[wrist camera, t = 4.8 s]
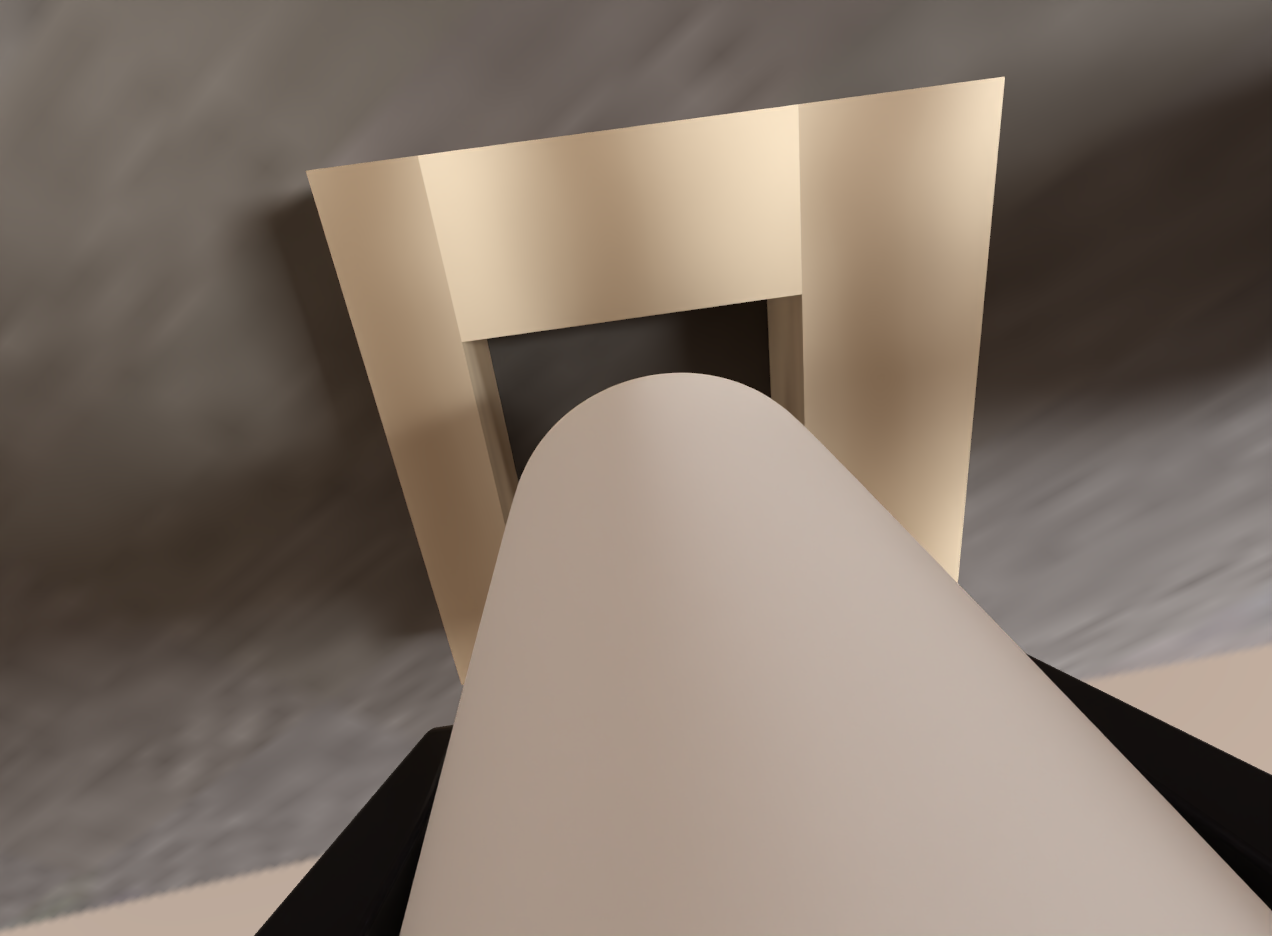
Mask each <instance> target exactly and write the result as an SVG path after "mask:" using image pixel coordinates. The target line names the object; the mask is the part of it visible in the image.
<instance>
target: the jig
mask: <svg viewBox="0 0 1272 936" xmlns="http://www.w3.org/2000/svg"><path fill="white" fill-rule="evenodd" d="M1004 81H1005V77H999V78H991V79H984V80H976V81H969V82H961V83H954V84H947V85H939V86H932V87H924V88H917V89H909V90H902V91H895V92H887V93H880V94H872V95H865V96H857V97H850V98H843V99H835V100H828V101H820V102H813V103H805V104H798V105H791V106H783V107H776V108H768V109H761V110H754V111H746V112H739V113H731V114H724V115H716V116H709V117H702V118H694V119H687V120H679V121H672V122H664V123H657V124H650V125H642V126H635V127H627V128H620V129H612V130H605V131H598V132H590V133H583V134H575V135H568V136H560V137H553V138H546V139H538V140H531V141H523V142H516V143H508V144H501V145H494V146H486V147H479V148H471V149H464V150H456V151H449V152H442V153H434V154H427V155H419V156H412V157H404V158H397V159H390V160H382V161H375V162H367V163H360V164H353V165H345V166H338V167H330V168H323V169H315V170H308V171H306V173H307V177H308V180H309V183H310V187H311V190H312V193H313V197H314V200H315V203H316V206H317V210H318V213H319V216H320V220H321V223H322V226H323V230H324V233H325V236H326V239H327V243H328V246H329V249H330V253H331V256H332V259H333V262H334V266H335V269H336V272H337V276H338V279H339V282H340V286H341V289H342V292H343V295H344V299H345V302H346V305H347V309H348V312H349V315H350V319H351V322H352V325H353V328H354V332H355V335H356V338H357V342H358V345H359V348H360V352H361V355H362V358H363V361H364V365H365V368H366V371H367V375H368V378H369V381H370V385H371V388H372V391H373V394H374V398H375V401H376V404H377V408H378V411H379V414H380V418H381V421H382V424H383V427H384V431H385V434H386V437H387V441H388V444H389V447H390V450H391V454H392V457H393V460H394V464H395V467H396V470H397V474H398V477H399V480H400V483H401V487H402V490H403V493H404V497H405V500H406V503H407V507H408V510H409V513H410V516H411V520H412V523H413V526H414V530H415V533H416V536H417V540H418V543H419V546H420V549H421V553H422V556H423V559H424V563H425V566H426V569H427V573H428V576H429V579H430V582H431V586H432V589H433V592H434V596H435V599H436V602H437V605H438V609H439V612H440V615H441V619H442V622H443V625H444V629H445V632H446V635H447V638H448V642H449V645H450V648H451V652H452V655H453V658H454V662H455V665H456V668H457V671H458V675H459V678H460V681H461V685H463V684H464V683H465V679H466V675H467V671H468V667H469V664H470V660H471V656H472V652H473V648H474V644H475V641H476V637H477V633H478V629H479V625H480V622H481V618H482V614H483V610H484V606H485V602H486V599H487V595H488V591H489V587H490V583H491V580H492V576H493V572H494V568H495V564H496V561H497V557H498V553H499V549H500V546H501V542H502V538H503V534H504V531H505V527H506V523H507V520H508V516H509V513H510V509H511V505H512V502H513V499H514V495H515V492H516V489H517V486H518V478H517V474H516V469H515V465H514V460H513V455H512V451H511V446H510V442H509V437H508V433H507V428H506V424H505V419H504V415H503V410H502V406H501V401H500V397H499V392H498V387H497V383H496V378H495V374H494V369H493V365H492V360H491V356H490V351H489V347H488V342H487V339H488V338H495V337H502V336H509V335H516V334H523V333H530V332H537V331H545V330H552V329H559V328H566V327H573V326H580V325H587V324H594V323H601V322H609V321H616V320H623V319H630V318H637V317H644V316H651V315H658V314H665V313H672V312H680V311H687V310H694V309H701V308H708V307H715V306H722V305H729V304H736V303H744V302H751V301H758V300H765V299H767V311H768V335H769V359H770V384H771V399H772V400H774V401H775V402H777V403H778V404H779V405H781V406H782V407H783V408H785V409H786V410H787V411H788V412H790V413H791V414H792V415H793V416H794V417H795V418H796V419H797V420H798V421H799V422H800V423H801V424H803V425H804V426H805V427H806V428H807V429H808V430H809V431H810V432H811V433H812V434H813V435H814V436H815V437H816V438H817V439H818V440H819V441H820V442H821V443H822V444H823V445H824V446H825V447H826V448H827V449H828V450H829V451H830V452H831V453H832V454H833V455H834V456H835V457H836V459H837V460H838V461H839V462H840V463H841V464H842V465H843V466H844V467H845V468H846V469H847V470H848V471H849V472H850V473H851V474H852V475H853V476H854V477H855V478H856V479H857V480H858V481H859V482H860V483H861V484H862V485H863V486H864V487H865V488H866V489H867V490H868V491H869V492H870V493H871V494H872V495H873V496H874V497H875V498H876V499H877V500H878V502H879V503H880V504H881V505H882V506H883V507H884V508H885V509H886V510H887V511H888V512H889V513H890V514H891V515H892V516H893V517H894V518H895V519H896V520H897V521H898V522H899V523H900V524H901V525H902V526H903V527H904V528H905V529H906V530H907V531H908V532H909V533H910V534H911V535H912V537H913V538H914V539H915V540H916V541H917V542H918V543H919V544H920V545H921V546H922V547H923V548H924V549H925V550H926V551H927V552H928V553H929V554H930V555H931V556H932V557H933V558H934V559H935V560H936V561H937V562H938V563H939V564H940V565H941V566H942V568H943V569H944V570H945V571H946V572H947V573H948V574H949V575H950V576H951V577H952V578H953V579H954V580H955V581H956V582H957V583H958V574H959V564H960V553H961V542H962V532H963V521H964V510H965V499H966V489H967V478H968V467H969V456H970V446H971V435H972V424H973V413H974V403H975V392H976V381H977V371H978V360H979V349H980V338H981V328H982V317H983V306H984V295H985V285H986V274H987V263H988V253H989V242H990V231H991V220H992V210H993V199H994V188H995V177H996V167H997V156H998V145H999V134H1000V124H1001V113H1002V102H1003V92H1004Z"/></svg>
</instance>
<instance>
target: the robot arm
mask: <svg viewBox="0 0 1272 936" xmlns="http://www.w3.org/2000/svg"><path fill="white" fill-rule="evenodd" d="M1026 655H1027V656H1028V657H1029V658H1030V659H1031V660H1032V661H1033V662H1034V663H1035V664H1036V665H1037V666H1038V667H1039V668H1040V669H1041V670H1042V671H1043V672H1044V673H1045V674H1046V675H1047V676H1048V677H1049V678H1050V679H1051V681H1052V682H1053V683H1054V684H1055V685H1056V686H1057V687H1058V688H1059V689H1060V690H1061V691H1062V692H1063V693H1064V694H1065V695H1066V696H1067V697H1068V698H1069V699H1070V700H1071V701H1072V702H1073V703H1074V704H1075V706H1076V707H1077V708H1078V709H1079V710H1080V711H1081V712H1082V713H1083V714H1084V715H1085V716H1086V717H1087V718H1088V719H1089V720H1090V721H1091V722H1092V723H1093V724H1094V725H1095V726H1096V727H1097V728H1098V729H1099V730H1100V732H1101V733H1102V734H1103V735H1104V736H1105V737H1106V738H1107V739H1108V740H1109V741H1110V742H1111V743H1112V744H1113V745H1114V746H1115V747H1116V748H1117V749H1118V750H1119V751H1120V752H1121V753H1122V754H1123V755H1124V757H1125V758H1126V759H1127V760H1128V761H1129V762H1130V763H1131V764H1132V765H1133V766H1134V767H1135V768H1136V769H1137V770H1138V771H1139V772H1140V773H1141V774H1142V775H1143V776H1144V777H1145V778H1146V779H1147V780H1148V782H1149V783H1150V784H1151V785H1152V786H1153V787H1154V788H1155V789H1156V790H1157V791H1158V792H1159V793H1160V794H1161V795H1162V796H1163V797H1164V798H1165V799H1166V800H1167V801H1168V802H1169V803H1170V804H1171V805H1172V806H1173V808H1174V809H1175V810H1176V811H1177V812H1178V813H1179V814H1180V815H1181V816H1182V817H1183V818H1184V819H1185V820H1186V821H1187V822H1188V823H1189V824H1190V825H1191V826H1192V828H1193V829H1194V830H1195V831H1196V832H1197V833H1198V834H1199V835H1200V836H1201V837H1202V838H1203V839H1204V840H1205V841H1206V842H1207V843H1208V844H1209V845H1210V846H1211V847H1212V849H1213V850H1214V851H1215V852H1216V853H1217V854H1218V855H1219V856H1220V857H1221V858H1222V859H1223V860H1224V861H1225V862H1226V863H1227V864H1228V865H1229V866H1230V867H1231V868H1232V870H1233V871H1234V872H1235V873H1236V874H1237V875H1238V876H1239V877H1240V878H1241V879H1242V880H1243V881H1244V882H1245V883H1246V884H1247V885H1248V886H1249V887H1250V888H1251V890H1252V891H1253V892H1254V893H1255V894H1256V895H1257V896H1258V897H1259V898H1260V899H1261V900H1262V901H1263V902H1264V903H1265V904H1266V905H1267V906H1268V907H1269V908H1270V909H1271V911H1272V775H1271V774H1269V773H1267V772H1265V771H1262V770H1260V769H1258V768H1256V767H1254V766H1252V765H1250V764H1248V763H1246V762H1244V761H1242V760H1240V759H1238V758H1236V757H1234V756H1232V755H1230V754H1228V753H1226V752H1224V751H1222V750H1220V749H1218V748H1216V747H1214V746H1212V745H1210V744H1208V743H1206V742H1204V741H1202V740H1200V739H1198V738H1196V737H1194V736H1192V735H1189V734H1187V733H1186V732H1184V731H1182V730H1180V729H1178V728H1175V727H1173V726H1171V725H1169V724H1167V723H1165V722H1163V721H1161V720H1159V719H1157V718H1155V717H1153V716H1151V715H1149V714H1147V713H1145V712H1143V711H1141V710H1139V709H1137V708H1135V707H1133V706H1131V705H1129V704H1127V703H1125V702H1123V701H1121V700H1119V699H1117V698H1115V697H1113V696H1111V695H1109V694H1107V693H1105V692H1103V691H1101V690H1099V689H1097V688H1094V687H1093V686H1090V685H1088V684H1086V683H1084V682H1082V681H1080V680H1078V679H1076V678H1074V677H1072V676H1070V675H1068V674H1066V673H1064V672H1062V671H1060V670H1058V669H1056V668H1054V667H1052V666H1050V665H1048V664H1046V663H1044V662H1042V661H1040V660H1038V659H1036V658H1034V657H1032V656H1030V655H1028V654H1026ZM452 729H453V725H450V726H443V727H436V728H433V729H431V730H429V731H428V732H427V733H426V734H425V735H424V736H423V738H422V739H421V740H420V741H419V742H418V743H417V745H416V746H415V747H414V748H413V749H412V751H411V752H410V753H409V754H408V755H407V756H406V758H405V759H404V760H403V761H402V762H401V764H400V765H399V766H398V767H397V768H396V769H395V771H394V772H393V773H392V774H391V775H390V776H389V778H388V779H387V780H386V781H385V782H384V784H383V785H382V786H381V787H380V788H379V789H378V791H377V792H376V793H375V794H374V795H373V796H372V798H371V799H370V800H369V801H368V802H367V804H366V805H365V806H364V807H363V808H362V809H361V811H360V812H359V813H358V814H357V815H356V816H355V818H354V819H353V820H352V821H351V822H350V824H349V825H348V826H347V827H346V828H345V829H344V831H343V832H342V833H341V834H340V835H339V836H338V838H337V839H336V840H335V841H334V842H333V844H332V845H331V846H330V847H329V848H328V849H327V851H326V852H325V853H324V854H323V855H322V856H321V858H320V859H319V860H318V861H317V862H316V864H315V865H314V866H313V867H312V868H311V869H310V871H309V872H308V873H307V874H306V875H305V877H304V878H303V879H302V880H301V881H300V883H299V884H298V885H297V886H296V887H295V888H294V889H293V891H292V892H291V893H290V894H289V895H288V896H287V898H286V899H285V900H284V901H283V902H282V904H281V905H280V906H279V907H278V908H277V909H276V911H275V912H274V913H273V914H272V915H271V917H270V918H269V919H268V920H267V921H266V922H265V924H264V925H263V926H262V927H261V928H260V929H259V931H258V932H257V933H256V934H255V935H254V936H399V935H400V931H401V927H402V923H403V920H404V916H405V912H406V908H407V904H408V900H409V896H410V892H411V888H412V884H413V881H414V877H415V873H416V869H417V865H418V861H419V857H420V853H421V849H422V845H423V841H424V838H425V834H426V830H427V826H428V822H429V818H430V814H431V810H432V806H433V802H434V799H435V795H436V791H437V787H438V783H439V779H440V775H441V772H442V768H443V764H444V760H445V756H446V752H447V748H448V745H449V741H450V737H451V733H452Z"/></svg>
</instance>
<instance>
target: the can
mask: <svg viewBox="0 0 1272 936" xmlns="http://www.w3.org/2000/svg"><path fill="white" fill-rule="evenodd" d="M399 936H1272V911H1271V909H1270V908H1269V907H1268V906H1267V905H1266V904H1265V903H1264V902H1263V901H1262V900H1261V899H1260V898H1259V897H1258V896H1257V895H1256V894H1255V893H1254V892H1253V891H1252V890H1251V888H1250V887H1249V886H1248V885H1247V884H1246V883H1245V882H1244V881H1243V880H1242V879H1241V878H1240V877H1239V876H1238V875H1237V874H1236V873H1235V872H1234V871H1233V870H1232V868H1231V867H1230V866H1229V865H1228V864H1227V863H1226V862H1225V861H1224V860H1223V859H1222V858H1221V857H1220V856H1219V855H1218V854H1217V853H1216V852H1215V851H1214V850H1213V849H1212V847H1211V846H1210V845H1209V844H1208V843H1207V842H1206V841H1205V840H1204V839H1203V838H1202V837H1201V836H1200V835H1199V834H1198V833H1197V832H1196V831H1195V830H1194V829H1193V828H1192V826H1191V825H1190V824H1189V823H1188V822H1187V821H1186V820H1185V819H1184V818H1183V817H1182V816H1181V815H1180V814H1179V813H1178V812H1177V811H1176V810H1175V809H1174V808H1173V806H1172V805H1171V804H1170V803H1169V802H1168V801H1167V800H1166V799H1165V798H1164V797H1163V796H1162V795H1161V794H1160V793H1159V792H1158V791H1157V790H1156V789H1155V788H1154V787H1153V786H1152V785H1151V784H1150V783H1149V782H1148V780H1147V779H1146V778H1145V777H1144V776H1143V775H1142V774H1141V773H1140V772H1139V771H1138V770H1137V769H1136V768H1135V767H1134V766H1133V765H1132V764H1131V763H1130V762H1129V761H1128V760H1127V759H1126V758H1125V757H1124V755H1123V754H1122V753H1121V752H1120V751H1119V750H1118V749H1117V748H1116V747H1115V746H1114V745H1113V744H1112V743H1111V742H1110V741H1109V740H1108V739H1107V738H1106V737H1105V736H1104V735H1103V734H1102V733H1101V732H1100V730H1099V729H1098V728H1097V727H1096V726H1095V725H1094V724H1093V723H1092V722H1091V721H1090V720H1089V719H1088V718H1087V717H1086V716H1085V715H1084V714H1083V713H1082V712H1081V711H1080V710H1079V709H1078V708H1077V707H1076V706H1075V704H1074V703H1073V702H1072V701H1071V700H1070V699H1069V698H1068V697H1067V696H1066V695H1065V694H1064V693H1063V692H1062V691H1061V690H1060V689H1059V688H1058V687H1057V686H1056V685H1055V684H1054V683H1053V682H1052V681H1051V679H1050V678H1049V677H1048V676H1047V675H1046V674H1045V673H1044V672H1043V671H1042V670H1041V669H1040V668H1039V667H1038V666H1037V665H1036V664H1035V663H1034V662H1033V661H1032V660H1031V659H1030V658H1029V657H1028V656H1027V655H1026V653H1025V652H1024V651H1023V650H1022V649H1021V648H1020V647H1019V646H1018V645H1017V644H1016V643H1015V642H1014V641H1013V640H1012V639H1011V638H1010V637H1009V636H1008V635H1007V634H1006V633H1005V632H1004V631H1003V630H1002V629H1001V628H1000V627H999V626H998V624H997V623H996V622H995V621H994V620H993V619H992V618H991V617H990V616H989V615H988V614H987V613H986V612H985V611H984V610H983V609H982V608H981V607H980V606H979V605H978V604H977V603H976V602H975V601H974V600H973V599H972V598H971V597H970V595H969V594H968V593H967V592H966V591H965V590H964V589H963V588H962V587H961V586H960V585H959V584H958V583H957V582H956V581H955V580H954V579H953V578H952V577H951V576H950V575H949V574H948V573H947V572H946V571H945V570H944V569H943V568H942V566H941V565H940V564H939V563H938V562H937V561H936V560H935V559H934V558H933V557H932V556H931V555H930V554H929V553H928V552H927V551H926V550H925V549H924V548H923V547H922V546H921V545H920V544H919V543H918V542H917V541H916V540H915V539H914V538H913V537H912V535H911V534H910V533H909V532H908V531H907V530H906V529H905V528H904V527H903V526H902V525H901V524H900V523H899V522H898V521H897V520H896V519H895V518H894V517H893V516H892V515H891V514H890V513H889V512H888V511H887V510H886V509H885V508H884V507H883V506H882V505H881V504H880V503H879V502H878V500H877V499H876V498H875V497H874V496H873V495H872V494H871V493H870V492H869V491H868V490H867V489H866V488H865V487H864V486H863V485H862V484H861V483H860V482H859V481H858V480H857V479H856V478H855V477H854V476H853V475H852V474H851V473H850V472H849V471H848V470H847V469H846V468H845V467H844V466H843V465H842V464H841V463H840V462H839V461H838V460H837V459H836V457H835V456H834V455H833V454H832V453H831V452H830V451H829V450H828V449H827V448H826V447H825V446H824V445H823V444H822V443H821V442H820V441H819V440H818V439H817V438H816V437H815V436H814V435H813V434H812V433H811V432H810V431H809V430H808V429H807V428H806V427H805V426H804V425H803V424H801V423H800V422H799V421H798V420H797V419H796V418H795V417H794V416H793V415H792V414H791V413H790V412H788V411H787V410H786V409H785V408H783V407H782V406H781V405H779V404H778V403H777V402H775V401H774V400H772V399H771V398H769V397H768V396H766V395H764V394H763V393H761V392H759V391H757V390H755V389H753V388H751V387H748V386H746V385H744V384H741V383H738V382H735V381H732V380H729V379H726V378H721V377H717V376H712V375H705V374H697V373H666V374H657V375H650V376H645V377H640V378H636V379H633V380H629V381H626V382H623V383H620V384H617V385H615V386H612V387H610V388H608V389H605V390H603V391H601V392H599V393H597V394H595V395H594V396H592V397H590V398H588V399H587V400H585V401H584V402H582V403H581V404H579V405H578V406H576V407H575V408H574V409H572V410H571V411H570V412H568V413H567V414H566V415H565V416H564V417H563V418H561V419H560V420H559V421H558V422H557V423H556V424H555V425H554V426H553V427H552V428H551V429H550V431H549V432H548V433H547V434H546V435H545V436H544V438H543V439H542V440H541V442H540V443H539V444H538V446H537V447H536V449H535V450H534V452H533V454H532V455H531V457H530V459H529V461H528V463H527V465H526V467H525V469H524V471H523V473H522V475H521V478H520V480H519V483H518V486H517V489H516V492H515V495H514V499H513V502H512V505H511V509H510V513H509V516H508V520H507V523H506V527H505V531H504V534H503V538H502V542H501V546H500V549H499V553H498V557H497V561H496V564H495V568H494V572H493V576H492V580H491V583H490V587H489V591H488V595H487V599H486V602H485V606H484V610H483V614H482V618H481V622H480V625H479V629H478V633H477V637H476V641H475V644H474V648H473V652H472V656H471V660H470V664H469V667H468V671H467V675H466V679H465V683H464V687H463V690H462V694H461V698H460V702H459V706H458V710H457V714H456V718H455V721H454V725H453V729H452V733H451V737H450V741H449V745H448V748H447V752H446V756H445V760H444V764H443V768H442V772H441V775H440V779H439V783H438V787H437V791H436V795H435V799H434V802H433V806H432V810H431V814H430V818H429V822H428V826H427V830H426V834H425V838H424V841H423V845H422V849H421V853H420V857H419V861H418V865H417V869H416V873H415V877H414V881H413V884H412V888H411V892H410V896H409V900H408V904H407V908H406V912H405V916H404V920H403V923H402V927H401V931H400V935H399Z"/></svg>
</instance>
